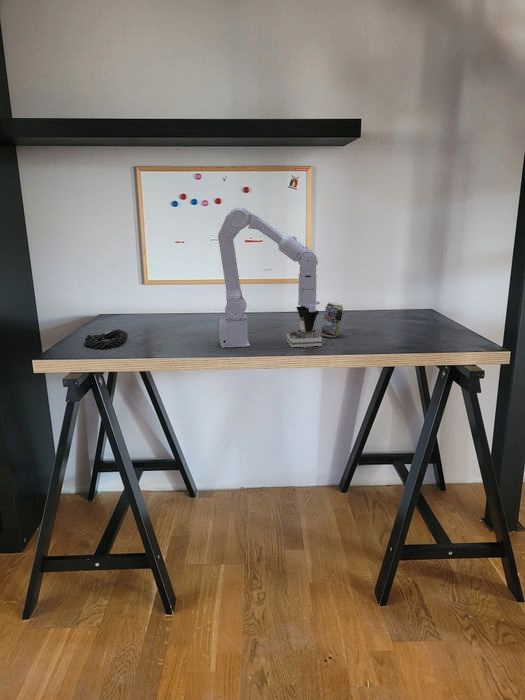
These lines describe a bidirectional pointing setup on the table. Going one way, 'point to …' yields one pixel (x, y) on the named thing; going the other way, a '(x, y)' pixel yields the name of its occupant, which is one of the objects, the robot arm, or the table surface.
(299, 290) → the robot arm
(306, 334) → the square housing with collar
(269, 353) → the table surface
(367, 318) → the table surface
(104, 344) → the cable
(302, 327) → the lens
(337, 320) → the beverage can
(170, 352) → the table surface
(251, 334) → the table surface
